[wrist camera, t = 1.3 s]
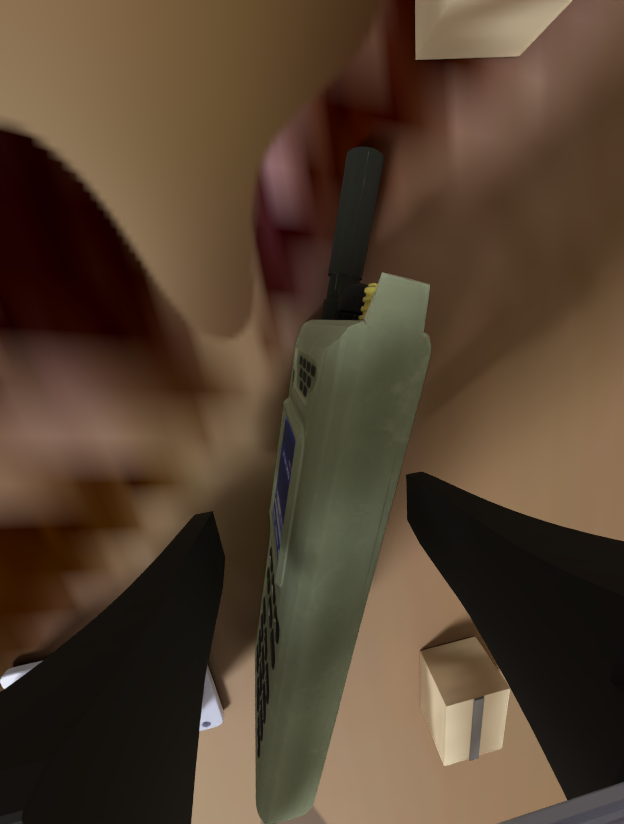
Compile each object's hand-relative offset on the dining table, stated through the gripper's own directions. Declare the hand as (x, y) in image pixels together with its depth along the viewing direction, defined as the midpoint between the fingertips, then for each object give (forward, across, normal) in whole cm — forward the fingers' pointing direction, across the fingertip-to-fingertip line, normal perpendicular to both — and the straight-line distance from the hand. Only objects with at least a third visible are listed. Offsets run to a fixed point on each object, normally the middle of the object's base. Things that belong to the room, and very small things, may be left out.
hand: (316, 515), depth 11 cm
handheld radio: (+4, 0, 0) cm, 4 cm away
